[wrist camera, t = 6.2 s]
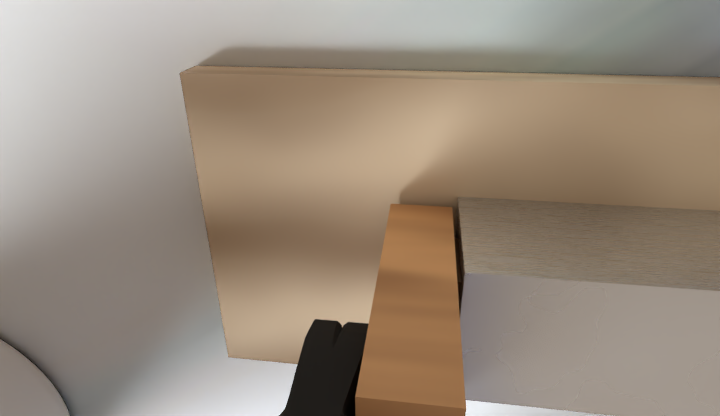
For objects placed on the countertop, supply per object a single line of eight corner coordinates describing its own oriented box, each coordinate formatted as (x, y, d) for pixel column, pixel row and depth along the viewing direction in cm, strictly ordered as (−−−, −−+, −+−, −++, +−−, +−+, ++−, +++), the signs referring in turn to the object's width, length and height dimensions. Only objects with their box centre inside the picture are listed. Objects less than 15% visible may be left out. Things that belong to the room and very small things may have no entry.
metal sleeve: (741, 327, 17) (833, 438, 13) (447, 303, 18) (450, 398, 14) (792, 214, 15) (920, 305, 11) (457, 196, 16) (465, 272, 12)
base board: (1007, 410, 18) (1043, 438, 17) (238, 338, 22) (228, 356, 21) (1284, 89, 13) (1362, 101, 12) (196, 65, 16) (179, 72, 15)
